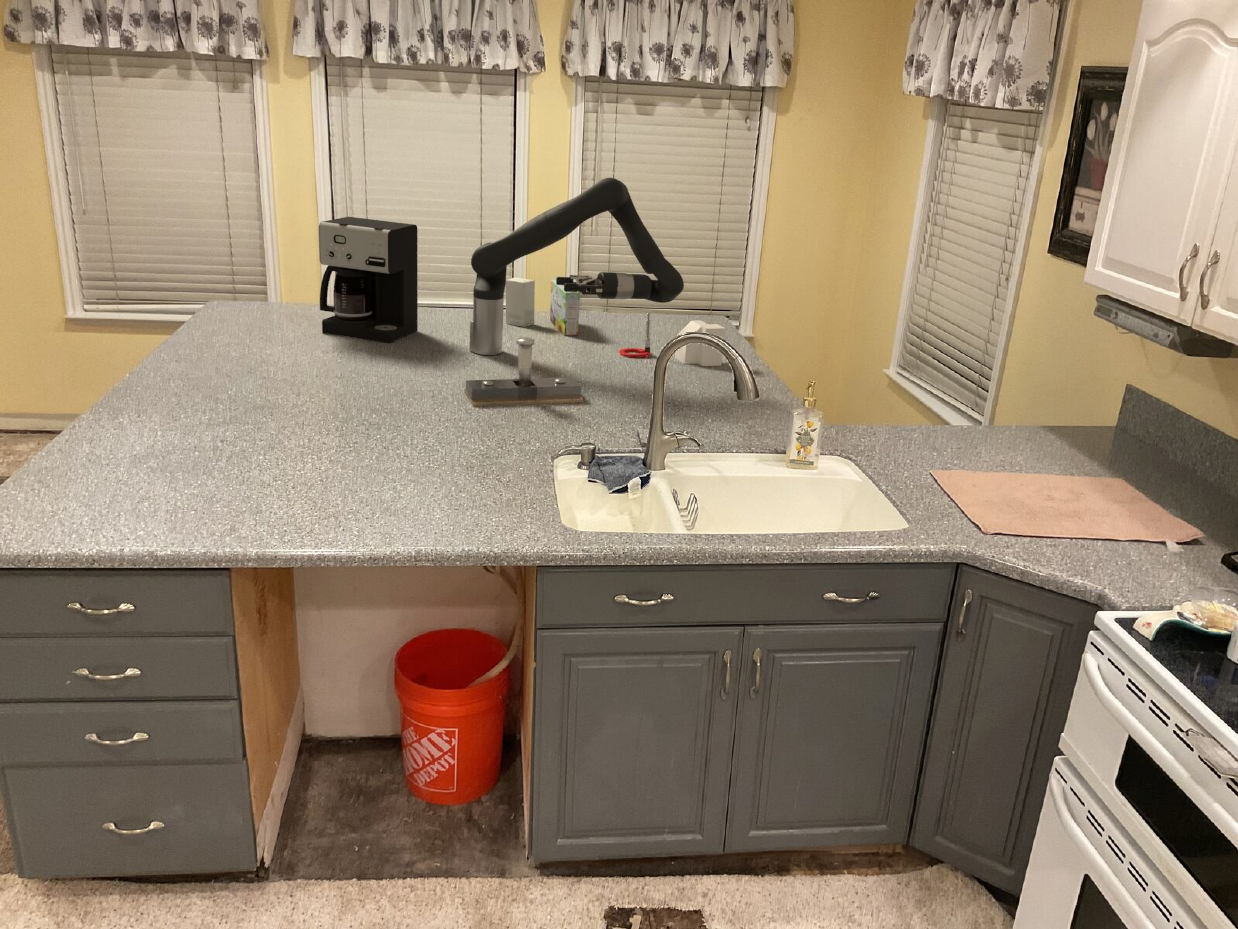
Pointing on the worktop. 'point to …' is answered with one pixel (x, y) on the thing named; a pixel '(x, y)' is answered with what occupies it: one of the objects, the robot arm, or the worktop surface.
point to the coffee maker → (369, 278)
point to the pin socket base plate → (523, 391)
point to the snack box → (564, 309)
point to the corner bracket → (700, 346)
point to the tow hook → (645, 351)
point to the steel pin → (524, 360)
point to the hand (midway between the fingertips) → (560, 284)
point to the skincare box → (520, 301)
